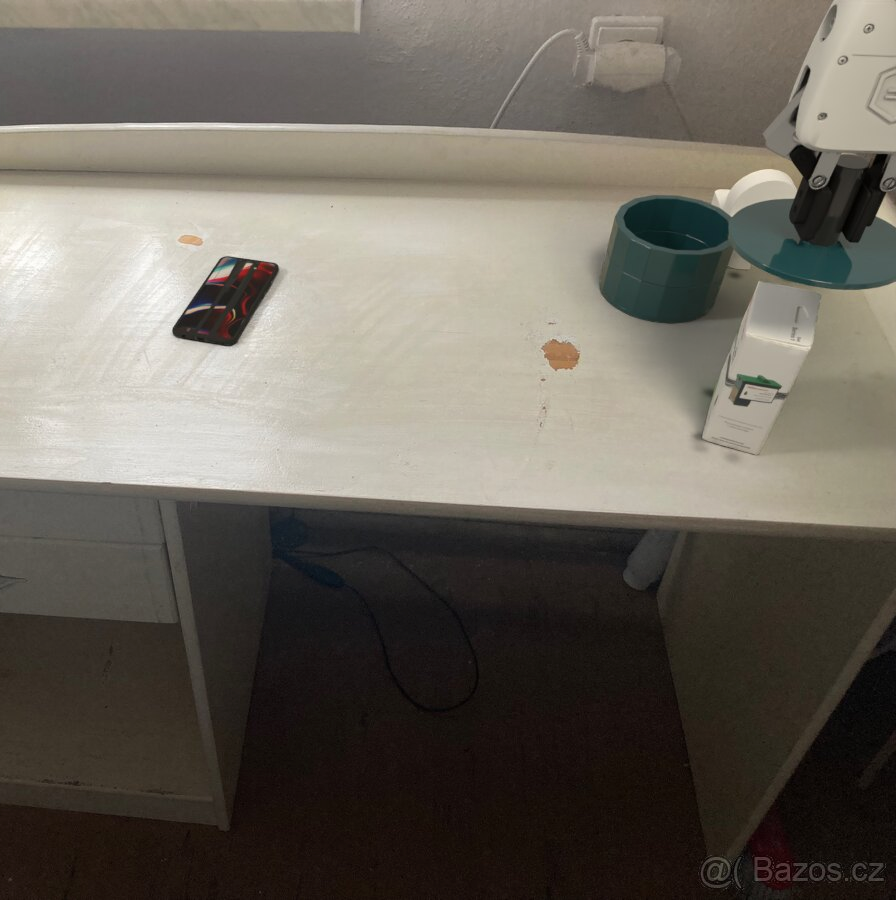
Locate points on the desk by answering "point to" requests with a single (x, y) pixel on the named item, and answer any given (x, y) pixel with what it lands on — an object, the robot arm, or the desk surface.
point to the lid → (818, 239)
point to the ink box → (762, 366)
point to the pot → (666, 258)
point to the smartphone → (226, 300)
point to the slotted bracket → (753, 198)
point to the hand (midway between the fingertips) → (824, 230)
